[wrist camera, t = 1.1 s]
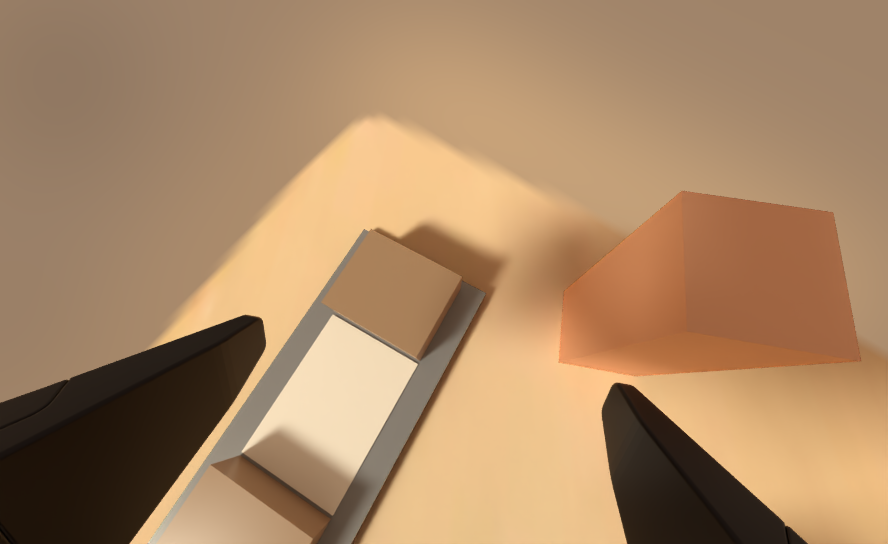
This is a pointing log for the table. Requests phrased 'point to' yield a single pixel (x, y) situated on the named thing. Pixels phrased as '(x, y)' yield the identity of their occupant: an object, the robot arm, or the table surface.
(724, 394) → the table surface
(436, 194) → the table surface
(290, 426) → the rail
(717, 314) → the wooden post
